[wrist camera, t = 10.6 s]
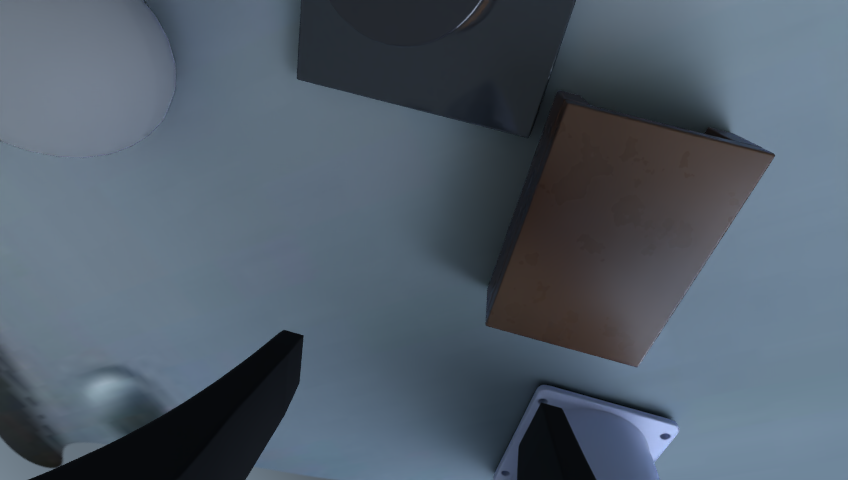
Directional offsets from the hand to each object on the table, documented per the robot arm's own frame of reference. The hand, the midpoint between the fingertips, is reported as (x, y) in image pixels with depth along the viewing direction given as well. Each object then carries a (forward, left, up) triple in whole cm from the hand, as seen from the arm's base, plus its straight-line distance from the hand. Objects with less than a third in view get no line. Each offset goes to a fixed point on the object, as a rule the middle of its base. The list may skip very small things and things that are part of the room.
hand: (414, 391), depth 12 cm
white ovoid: (+5, +17, -10) cm, 20 cm away
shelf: (+3, -6, -9) cm, 12 cm away
